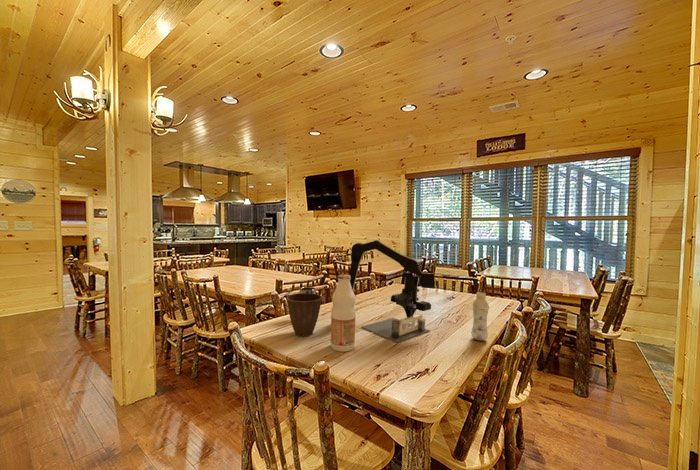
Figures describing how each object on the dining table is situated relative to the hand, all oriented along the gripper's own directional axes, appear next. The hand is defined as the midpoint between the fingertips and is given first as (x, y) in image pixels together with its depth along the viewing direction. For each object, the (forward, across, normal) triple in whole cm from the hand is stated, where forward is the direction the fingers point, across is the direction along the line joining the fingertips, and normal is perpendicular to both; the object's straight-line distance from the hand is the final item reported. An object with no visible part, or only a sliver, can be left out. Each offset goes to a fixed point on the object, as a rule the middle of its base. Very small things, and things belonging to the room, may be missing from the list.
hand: (409, 320), depth 131 cm
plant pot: (+6, -26, -40) cm, 48 cm away
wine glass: (+6, -43, -27) cm, 51 cm away
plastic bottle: (+4, +25, +16) cm, 30 cm away
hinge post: (+5, +2, -12) cm, 13 cm away
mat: (+5, -5, -4) cm, 8 cm away
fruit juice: (+5, -5, -35) cm, 35 cm away
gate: (+4, +2, -2) cm, 5 cm away
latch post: (+4, +4, +4) cm, 7 cm away
